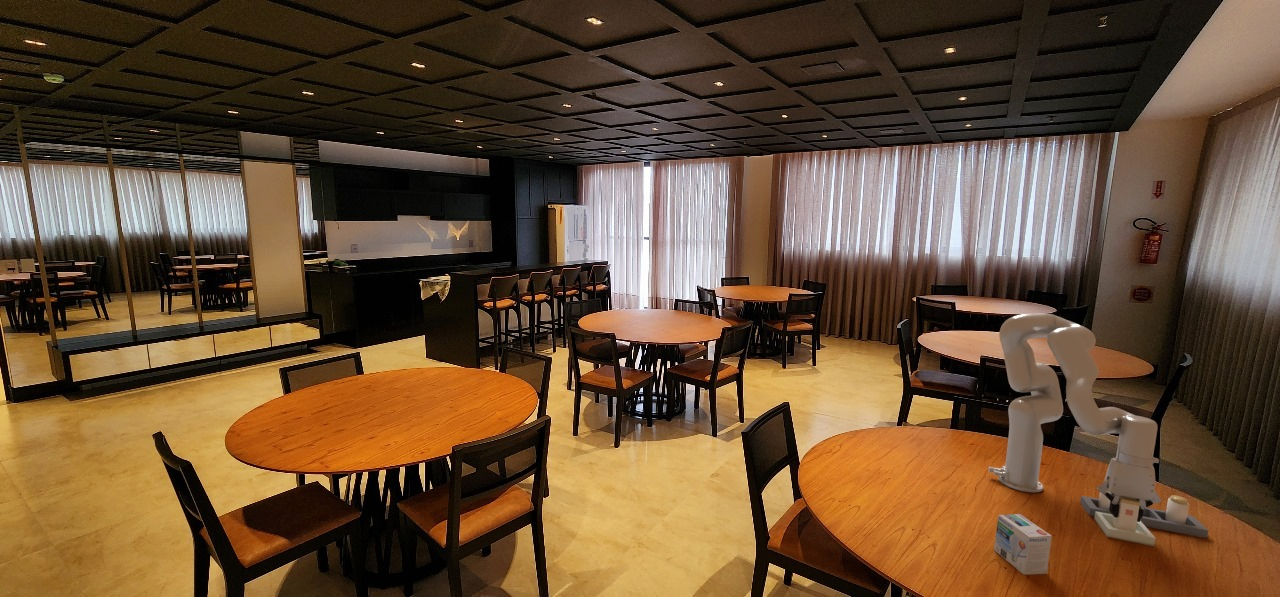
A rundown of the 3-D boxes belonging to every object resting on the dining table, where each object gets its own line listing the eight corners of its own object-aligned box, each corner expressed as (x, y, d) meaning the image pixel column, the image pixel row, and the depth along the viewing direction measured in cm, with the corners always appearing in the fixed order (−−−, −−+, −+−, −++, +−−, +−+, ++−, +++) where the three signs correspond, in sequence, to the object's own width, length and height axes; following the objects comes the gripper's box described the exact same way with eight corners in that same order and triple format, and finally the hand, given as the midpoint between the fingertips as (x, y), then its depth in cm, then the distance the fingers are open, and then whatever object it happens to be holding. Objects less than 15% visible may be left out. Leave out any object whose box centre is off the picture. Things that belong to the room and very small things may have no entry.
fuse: (1111, 524, 156) (1115, 493, 155) (1129, 527, 154) (1134, 496, 153) (1116, 531, 152) (1121, 499, 151) (1135, 535, 151) (1140, 503, 149)
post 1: (1100, 515, 162) (1104, 488, 161) (1095, 508, 166) (1098, 481, 165) (1118, 518, 161) (1122, 491, 159) (1112, 511, 164) (1116, 484, 163)
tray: (1107, 536, 151) (1108, 528, 151) (1094, 518, 160) (1095, 511, 160) (1154, 546, 147) (1155, 538, 146) (1138, 527, 156) (1139, 519, 156)
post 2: (1168, 528, 156) (1172, 500, 154) (1161, 520, 160) (1165, 493, 158) (1188, 531, 154) (1192, 503, 153) (1180, 524, 158) (1185, 496, 156)
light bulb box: (992, 550, 144) (997, 513, 143) (1015, 549, 145) (1019, 513, 143) (1024, 575, 134) (1029, 537, 132) (1048, 574, 134) (1053, 535, 133)
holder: (1089, 515, 162) (1090, 508, 162) (1080, 502, 170) (1081, 495, 169) (1206, 538, 151) (1208, 530, 150) (1191, 523, 158) (1193, 516, 158)
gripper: (1166, 459, 150) (1156, 518, 153) (1092, 448, 157) (1084, 504, 160) (1179, 470, 143) (1169, 531, 146) (1101, 458, 150) (1093, 516, 153)
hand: (1124, 516), depth 153 cm, fingers open, 4 cm apart
